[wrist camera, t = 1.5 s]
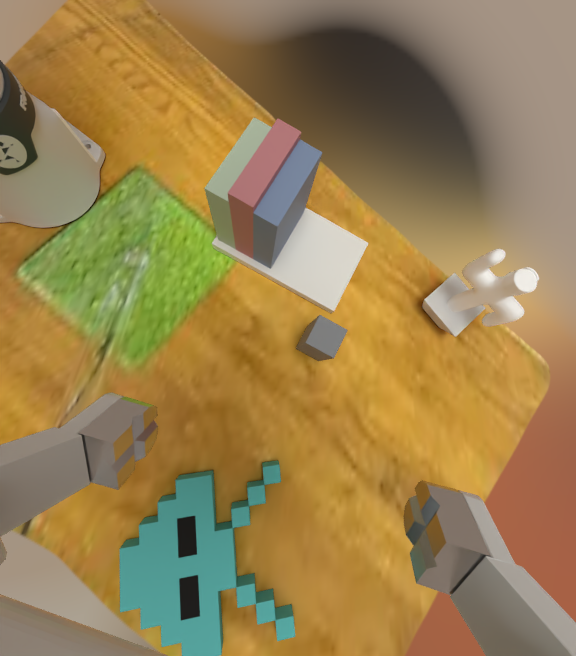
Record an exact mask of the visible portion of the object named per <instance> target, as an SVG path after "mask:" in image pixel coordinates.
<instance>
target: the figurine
mask: <svg viewBox="0 0 576 656" xmlns="http://www.w3.org/2000/svg"><path fill="white" fill-rule="evenodd" d="M504 258H505V251H504V250H502V249H496V250H493V251H491V252H489V253H487V254H485V255H483V256H481V257H479V258H477V259H475V260H473V261H472V262H470V263H469V264H467V265H466V266H465V267H464V268H463V270H462V273H463V276H464V277H465V279H466V280H467V281H468V282H469V283H470V284H471V285H472V287H473V288H472V289H468V288H467V286H466V285H465V284H464V283H463V282H462V281H461V279H460V278H459V277H458V276H457V275H456V274H455V273H454V274H453V275H451V276H450V277H449V278H448V279H447V280H446V281H445V282H444V283H442V284H441V285H440V286H439V287H438V288H437V289H436V290H435V291H433V292H432V293H431V294H430V295H429V296H428V297H427V298H425V299H424V302H423V305H422V308H423V309H424V310H425V312H426V313H427V314H428V315H429V316H430V317H431V319H432V320H433V321H434V322H435V323H436V324H437V326H438V327H439V328H441V329H443V330H444V331H446V332H448V333H450V334H451V335H453V336H455V337H456V336H457V335H458V334H459V333H460V332H461V331H462V330H463V329H464V328H465V327H466V326H467V325H468V324H469V323H471V322H472V321H473V320H474V319H475V318H476V317H477V316H478V315H479V314H480V313H481V312H482V311H483V310H484V309H485V307H484V306H483V305H484V304H485V305H489V306H490V307H491V309H492V310H493V311H494V312H492V313H489V314H487V315H485V316H484V317H483V319H482V323H483V325H484V326H488V327H489V326H495V325H500V324H504V323H509V322H513V321H516V320H518V319H519V318H521V317H522V316H523V315H524V309H523V308H522V306H521V305H520V304H519V303H518V301H517V300H516V299H515V298H514V297H513V296H514V295H521V294H525V293H529V292H532V291H533V290H534V289H535V288H536V286H537V281H538V280H539V276H538V274H537V273H536V271H535V270H533V269H532V268H529V267H526V268H523V269H519V270H517V271H514V272H509V273H508V274H507V275H505V276H503V277H497V276H495V275H494V274H493V273H492V272H491V271H490V269H489V268H490V267H492V266H494V265H496V264H498V263H500V262H501V261H502V260H503V259H504Z"/></svg>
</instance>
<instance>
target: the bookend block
mask: <svg viewBox="0 0 576 656" xmlns="http://www.w3.org/2000/svg"><path fill="white" fill-rule="evenodd" d="M346 332H347V330H346V329H345V328H343V327H341V326H339V325H337V324H336V323H334V322H332V321H330V320H328V319H326V318H325V317H323V316H321V315H319V316H318V317H317V318H316V319H315V320H314V321H312V322H311V323H310V324H309V325H308V326H307V328H306V329H305V331H304V333H303V335H302V337H301V339H300V341H299V343H298V345H297V347H296V349H297V350H299V351H301V352H303V353H305V354H306V355H308V356H310V357H312V358H314V359H316V360H317V361H322V360H327V359H333V358H334V357H335V355H336V353H337V351H338V349H339V347H340V345H341V343H342V341H343V339H344V337H345V334H346Z"/></svg>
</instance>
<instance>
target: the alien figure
mask: <svg viewBox="0 0 576 656" xmlns="http://www.w3.org/2000/svg"><path fill="white" fill-rule="evenodd" d="M262 465H263V477H264V480H259V481H253V482H248V483H247V491H248V500H245V501H239V502H233V503H232V507H231V514H232V521H229V522H223V523H218V524H216V508H215V490H214V473H213V470H211V471H204V472H198V473H191V474H185V475H179V476H178V478H177V479H176V494H172V495H166V496H162V497H161V499H160V500H159V501H158V515H157V516H151V517H145V518H144V519H143V521H142V522H141V523H140V525H139V538H134V539H129V540H126V541H125V542H124V544H123V545H122V546H121V548H120V612H124V611H128V610H133V609H138V608H140V609H141V630H142V629H146V628H150V627H155V626H159V625H161V643H162V647H164V646H168V645H173V644H177V643H181V642H182V656H219V655H222V646H223V631H222V613H221V596H220V591H221V590H226V589H231V588H235V587H236V590H237V605H238V608H239V607H244V606H248V605H253V604H256V611H257V624H262V623H266V622H270V621H274V620H276V632H277V641H280V640H284V639H288V638H292V637H295V629H294V618H293V611H292V605H291V604H290V605H286V606H281V607H277V608H274V596H273V589H269V590H265V591H260V592H256V588H255V575H254V573H253V574H248V575H243V576H239V577H237V567H236V552H235V537H234V528H236V527H241V526H247V525H250V508H249V506H252V505H258V504H264V503H266V500H265V488H264V485H267V484H273V483H279V482H281V477H280V467H279V462H278V460H277V461H270V462H264V463H262Z"/></svg>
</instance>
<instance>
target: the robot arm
mask: <svg viewBox="0 0 576 656" xmlns="http://www.w3.org/2000/svg"><path fill="white" fill-rule="evenodd" d="M89 148H90V149H89ZM104 159H105V152H104V151H103V150H102V148H101V147H100V146H99V145H98V144H96V143H95V142H94V141H92V140H91V139H90V138H88V137H87V136H86V135H85V134H83V133H82V132H81V131H79V130H78V129H77V128H75V127H74V126H73V125H71V124H70V123H69V122H68V121H66V120H65V119H64V118H62V116H61V115H60V114H59V113H58V112H57V111H56V110H55V109H54V108H50V107H49V106H47V105H46V104H45V103H44V102H42V101H41V100H39V99H38V98H36V97H35V96H33V95H32V94H30V93H29V92H27V91H26V90H25V89H24V88H23V87H22V85H21V83H20V82H19V80H18V79H17V78H16V77H15V75H14V74H13V73H12V72H11V71H10V70H9V69H8V68H7V67H6V66H5V65H4V64H3V63H2V62H1V60H0V223H3V222H16V223H20V224H23V225H27V226H31V227H39V228H47V227H55V226H60V225H63V224H66V223H69V222H71V221H73V220H75V219H77V218H78V217H80V216H81V215H83V214H84V213H85V212H86V211H87V210H88V209H89V208H90V207H91V206H92V204H93V203H94V201H95V199H96V197H97V195H98V192H99V187H100V168H101V166H102V164H103V162H104ZM157 416H158V414H157V407H156V406H154V405H151V404H147V403H144V402H141V401H138V400H135V399H131V398H128V397H124V396H121V395H118V394H114V393H107V394H105V395H103V396H102V397H100V398H99V399H98V400H96V401H95V402H94V403H93V404H91V405H90V406H89V407H87V408H86V409H85V410H83V411H82V412H81V413H79V414H78V415H77V416H75V417H74V418H73V419H71V420H70V421H69V422H67V423H66V424H65V425H63V426H62V427H61V428H56V427H54V428H51V429H47V430H44V431H41V432H38V433H35V434H32V435H29V436H26V437H23V438H20V439H17V440H14V441H11V442H8V443H5V444H2V445H0V537H1V536H2V535H4V534H6V533H8V532H9V531H11V530H13V529H14V528H16V527H18V526H19V525H21V524H23V523H25V522H26V521H28V520H30V519H31V518H33V517H35V516H37V515H38V514H40V513H42V512H43V511H45V510H47V509H48V508H50V507H52V506H54V505H55V504H57V503H59V502H60V501H62V500H64V499H65V498H67V497H69V496H71V495H72V494H74V493H76V492H77V491H79V490H81V489H83V488H84V487H86V486H88V485H89V484H90V482H92V483H96V484H99V485H103V486H107V487H110V488H114V489H117V490H119V489H120V488H121V486H122V485H123V484H124V483H125V481H126V480H127V479H128V478H129V476H130V475H131V474H132V473H133V471H134V470H135V462H136V461H138V460H140V459H142V458H144V457H146V455H147V454H148V453H149V451H150V450H151V449H152V447H153V445H154V443H155V441H156V438H157V434H158V426H157V424H156V423H155V421H154V419H155V418H156V417H157ZM415 492H416V496H413V497H411V498H409V499H408V501H407V503H406V505H405V510H404V527H405V532H406V536H407V537H408V538H409V540H410V541H411V543H412V544H413V545H414V546H413V548H412V550H411V552H410V556H411V561H412V566H413V570H414V575H415V579H416V583H417V584H420V585H423V586H426V587H429V588H431V589H434V590H437V591H440V592H443V593H446V594H449V595H451V596H450V597H451V599H452V601H453V603H454V604H455V606H456V608H457V609H458V611H459V613H460V614H461V616H462V617H463V619H464V621H465V622H466V624H467V626H468V627H469V629H470V630H471V632H472V634H473V635H474V637H475V639H476V640H477V642H478V644H479V645H480V647H481V648H482V650H483V652H484V653H485V655H486V656H576V622H575V621H574V620H573V619H572V618H571V617H570V616H569V615H568V614H567V613H566V612H565V611H564V610H563V609H562V608H561V607H560V606H559V605H558V604H557V603H556V602H555V601H554V600H553V599H552V597H550V595H548V593H547V592H546V591H545V590H544V589H543V588H542V587H541V586H540V585H539V584H538V583H537V582H536V581H535V580H534V579H533V578H532V577H531V576H530V575H529V574H528V572H527V571H526V570H525V569H524V568H523V567H521V566H518V565H515V563H514V561H513V559H512V557H511V555H510V553H509V551H508V549H507V547H506V545H505V543H504V541H503V539H502V537H501V535H500V533H499V531H498V529H497V528H496V526H495V524H494V522H493V520H492V518H491V516H490V514H489V512H488V510H487V508H486V506H485V504H484V502H483V500H482V499H481V498H480V497H479V496H478V495H474V494H470V493H467V492H463V491H459V490H456V489H452V488H449V487H445V486H441V485H438V484H434V483H430V482H426V481H423V480H422V481H420V482H418V484H417V485H416V487H415ZM6 554H7V551H6V549H5V547H4V545H3V542H2V540H1V538H0V565H1V563H2V562H3V561H4V560H5V559H6ZM0 656H168V655H165V654H162V653H159V652H157V651H154V650H151V649H148V648H146V647H143V646H140V645H137V644H135V643H132V642H129V641H126V640H124V639H121V638H118V637H116V636H113V635H110V634H107V633H104V632H102V631H99V630H96V629H94V628H91V627H88V626H86V625H83V624H80V623H77V622H75V621H71V620H69V619H66V618H63V617H61V616H58V615H55V614H53V613H50V612H47V611H44V610H42V609H39V608H36V607H33V606H31V605H28V604H25V603H22V602H20V601H17V600H14V599H12V598H9V597H6V596H3V595H1V594H0Z"/></svg>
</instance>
